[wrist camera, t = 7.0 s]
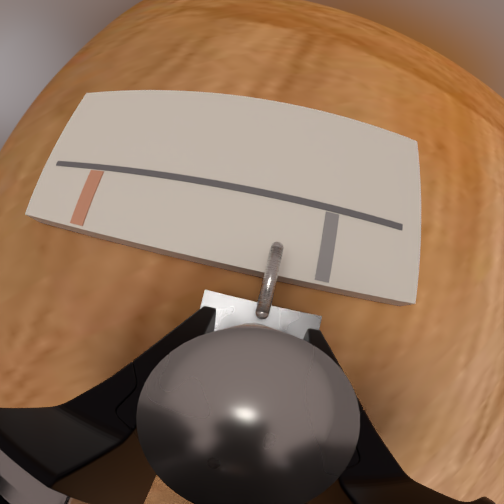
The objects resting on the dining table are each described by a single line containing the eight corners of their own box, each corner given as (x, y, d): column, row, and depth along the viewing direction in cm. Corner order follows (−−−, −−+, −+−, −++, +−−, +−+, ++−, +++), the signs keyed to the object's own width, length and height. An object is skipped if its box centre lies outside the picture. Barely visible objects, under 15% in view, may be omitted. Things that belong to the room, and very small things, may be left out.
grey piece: (291, 400, 15) (373, 554, 2) (191, 377, 15) (53, 486, 3) (321, 271, 17) (461, 151, 4) (223, 249, 17) (160, 79, 4)
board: (406, 154, 19) (417, 140, 17) (400, 306, 16) (416, 303, 14) (94, 106, 21) (86, 92, 19) (39, 222, 18) (24, 213, 16)
